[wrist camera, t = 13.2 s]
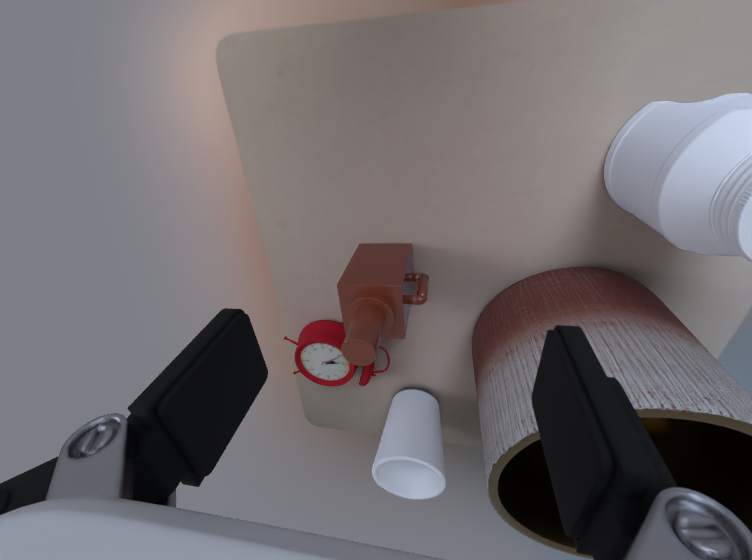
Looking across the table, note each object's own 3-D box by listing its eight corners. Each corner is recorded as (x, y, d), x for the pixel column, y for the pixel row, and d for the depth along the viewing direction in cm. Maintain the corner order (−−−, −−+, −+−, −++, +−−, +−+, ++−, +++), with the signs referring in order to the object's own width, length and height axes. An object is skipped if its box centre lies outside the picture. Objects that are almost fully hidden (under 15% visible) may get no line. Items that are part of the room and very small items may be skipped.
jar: (775, 88, 27) (1065, 93, 14) (727, 203, 32) (913, 282, 19) (616, 105, 29) (743, 121, 17) (593, 209, 34) (679, 282, 22)
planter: (694, 264, 35) (923, 433, 18) (626, 403, 46) (729, 588, 29) (479, 257, 39) (503, 389, 22) (464, 386, 50) (472, 539, 33)
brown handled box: (359, 243, 41) (316, 321, 28) (429, 243, 40) (420, 326, 26) (364, 288, 45) (328, 376, 31) (430, 289, 43) (421, 384, 29)
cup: (384, 377, 53) (367, 452, 42) (446, 382, 51) (446, 462, 40) (388, 418, 58) (375, 494, 47) (446, 423, 56) (445, 505, 45)
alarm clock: (276, 332, 47) (372, 355, 41) (302, 307, 52) (390, 326, 46) (291, 383, 52) (378, 411, 46) (313, 357, 57) (394, 379, 51)
